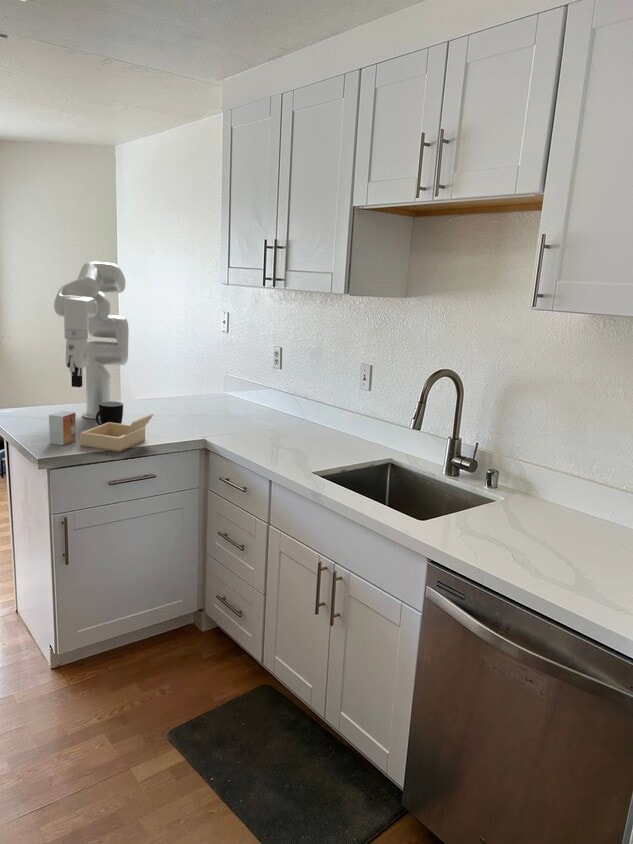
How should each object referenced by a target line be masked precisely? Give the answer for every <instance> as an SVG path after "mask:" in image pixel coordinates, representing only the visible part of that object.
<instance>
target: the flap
mask: <svg viewBox="0 0 633 844" xmlns="http://www.w3.org/2000/svg"><path fill="white" fill-rule="evenodd" d="M153 416H154V413H152V414H149V415H147V416H144V417H142V418H138V419H137V420H135V421H134V420H133V421H132V423H131V424H129V425H130V427H129V428H128V430H127V431H126V432H125V434H124V435H128V434H130V433H132V432H134V431H137V430H139V429H141V428H144V427H145V428H146V426H147V425H148V423H150V421H151V419H152V417H153Z"/></svg>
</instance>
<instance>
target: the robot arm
mask: <svg viewBox="0 0 633 844" xmlns="http://www.w3.org/2000/svg"><path fill="white" fill-rule="evenodd" d="M125 288H126V277H125V274H124V272H123V271H122V269H121V268H120V267H119V265H117V264H115V263H111V262H100V261H88V262H85V263H84V264H83V265H82V267H81V268H80V272H79V275H78V277H77V279H76V280H73V281H71V282H69V283H66V284H64V285H62V286H61V287H60V288H59V289H58V291H57V294H56V296H55V299H54V303H53V308H54V311H55V313H56V315H57V316H59V317H61V318H62V317H63V320H64V323H63V324H64V326H63V327H64V328H63V329H64V339H66V342H65V344H66V345H65V366H66V367H67V368H69V372H70V375H71V377H70V378H71V387H73V388H82V387H83V371H84V370H83V369H84V368H85V386H86V387H85V389H86V390H85V391H86V392H85V394H86V395H85V397H86V399H85V401H86V402H85V403H86V405H85V406H86V411H84V412H83V413H82V417H83V418H86V419H91V420H96V414H97V413H98V411H99V403H101V402H106V401H111V374H110V372H109V370H108V368H106V366H124V365H126V364H127V363H128V359H129V332H130V331H129V330H130V329H129V322H128V320H127V319H126V317H125V316H122V315H111V302H110V300H109V299H108V297H107V296H106V295H105V293H109V294H111V293H112V294H121V293H123V292H124V290H125ZM88 335H90V337H93V338H97V339H112V340H116V341H106V340H105V341H103V340H91V341H88V340H89V336H88ZM98 420H100V414H99V417H98Z"/></svg>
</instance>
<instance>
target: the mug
mask: <svg viewBox="0 0 633 844" xmlns="http://www.w3.org/2000/svg"><path fill="white" fill-rule="evenodd" d="M99 414H100V419H98V417H99ZM123 415H124V403H123V402H121V401H115V400H114V401H112V400H110V401H106V402H101V403H99V411H98V413H97V414H96V419H95V422H96V423H97V425H98V426H100V425H102V424H105V423H108V422H112V423H119V424H123V423H122V422H123V417H124V416H123Z"/></svg>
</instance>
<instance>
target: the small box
mask: <svg viewBox="0 0 633 844" xmlns="http://www.w3.org/2000/svg"><path fill="white" fill-rule="evenodd" d="M76 419H77V418H76V412H73V411H72V412H71V411H66V410H61V411H59V412H55V413H52V414H49V415H48V425H49V426H48V431H49V432H48V433H49V434H48V435H49V444H50V445H59V446H65V445H67V444H69V443H72V442H75V441H77V434H76V433H77V428H76V427H77V426H76V424H77V423H76V421H77V420H76Z"/></svg>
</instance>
